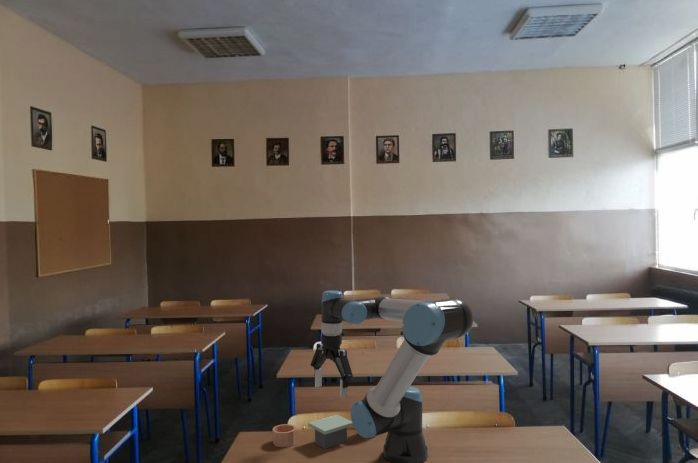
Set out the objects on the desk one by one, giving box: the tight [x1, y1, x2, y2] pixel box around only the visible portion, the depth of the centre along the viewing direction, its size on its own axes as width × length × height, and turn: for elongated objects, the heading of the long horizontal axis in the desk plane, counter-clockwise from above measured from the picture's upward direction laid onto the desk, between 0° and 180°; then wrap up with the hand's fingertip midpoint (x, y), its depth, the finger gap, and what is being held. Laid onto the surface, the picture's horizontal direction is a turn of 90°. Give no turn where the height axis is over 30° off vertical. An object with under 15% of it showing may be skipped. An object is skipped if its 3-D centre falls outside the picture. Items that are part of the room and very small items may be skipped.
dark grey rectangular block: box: [314, 428, 348, 449], centre depth 180 cm, size 6×10×6 cm, turn 129°
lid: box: [307, 414, 354, 435], centre depth 180 cm, size 10×13×1 cm
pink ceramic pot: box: [272, 423, 297, 448], centre depth 181 cm, size 8×8×5 cm
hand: (330, 391), depth 180 cm, fingers open, 13 cm apart
